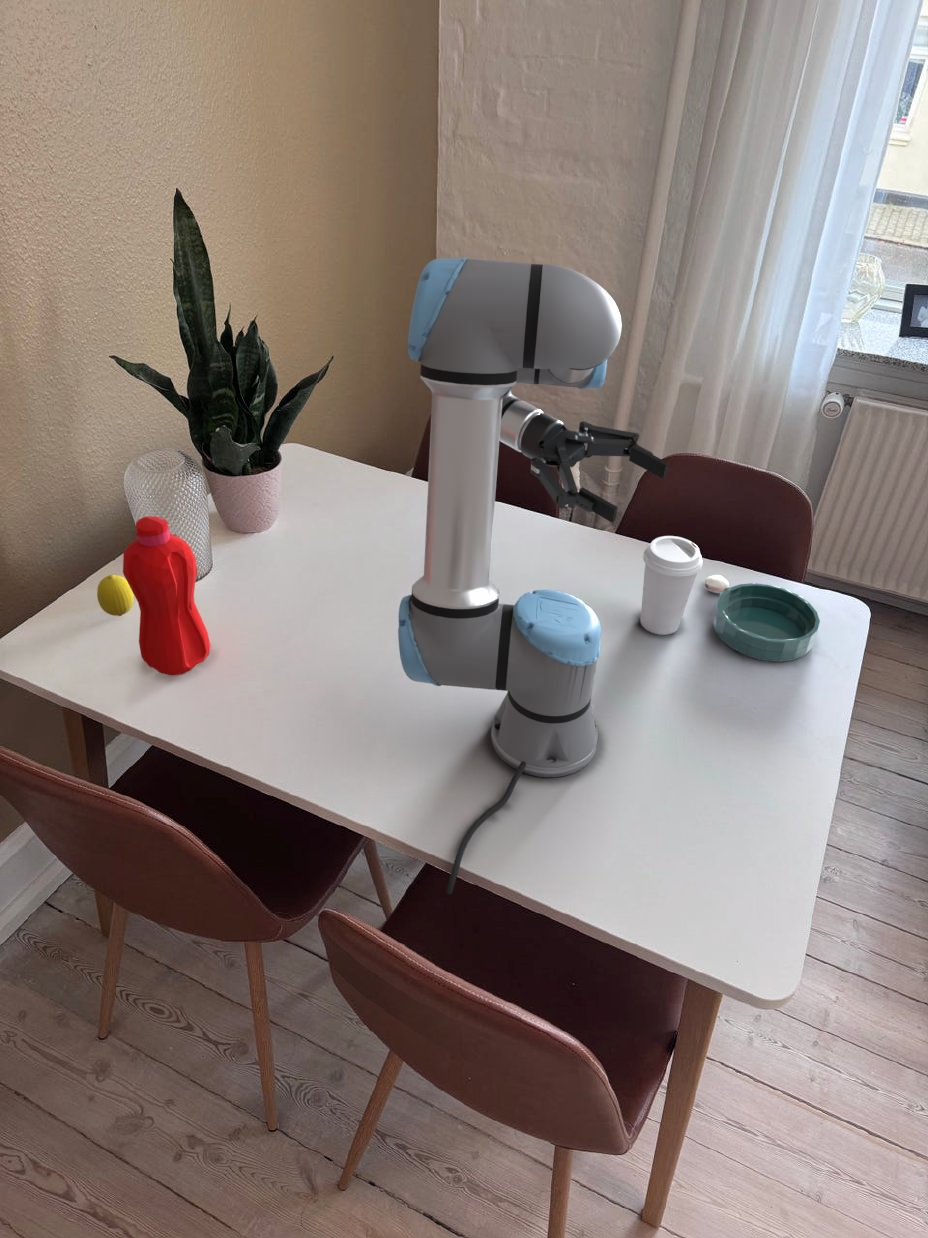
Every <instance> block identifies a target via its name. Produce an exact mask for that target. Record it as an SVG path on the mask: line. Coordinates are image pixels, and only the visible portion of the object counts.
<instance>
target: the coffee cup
mask: <svg viewBox="0 0 928 1238" xmlns="http://www.w3.org/2000/svg"><path fill="white" fill-rule="evenodd" d="M642 559H643V562H644V571H643V572H644V573H643V584H642V596H641V597H642V598H641V611H640V619H639V620H640V624H641V627H643V628H644V629H645V630H646V631H647V632H649V633H651V634H655V635H659V636H660V635H662V636H666V635H672V634H674V633H676V632H677V631H678V630H679V628H680V624H681V621H682V618H683V616H684V613H685V609H686V606H687V604H688V600H689V597H690V595H691V591H692V589H693V586H694V583H695V581H696V577H697V574H698V572H700V571H701V570H702V568H703V564H704V563H703V558H702V554H701V551H700V548H699V547H698V545H697V544H695V543H694V542H693V541H691V540H689V539H687V538H684V537H681V536H674V535H663V536H658V537H656V538H655V539H653V540H652V541H651V542H650V544H649V545H647V547H646V548H645V549H644V552H643V554H642Z"/></svg>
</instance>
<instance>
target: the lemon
mask: <svg viewBox="0 0 928 1238" xmlns="http://www.w3.org/2000/svg"><path fill="white" fill-rule="evenodd" d="M96 598H97V602H98V604H99V607H100V609H102V610H103V611H104V612H105V613H106V614H108V615H109V616H110V615H111V616H115V617H116V616H118V617H121V616H123V615H125V614H127V613H128V612H129V611H130V610H131V609H132V607H133V605H134V600H135V595H134V594H133V592H132V590H131V588H130V586H129V584H128V582H127V580H126V578H125V577H124V576H122V575H118V574H109V575H107V576H105V577H103V578H102V579H101V580H100V581H99V583H98V585H97V590H96Z"/></svg>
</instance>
